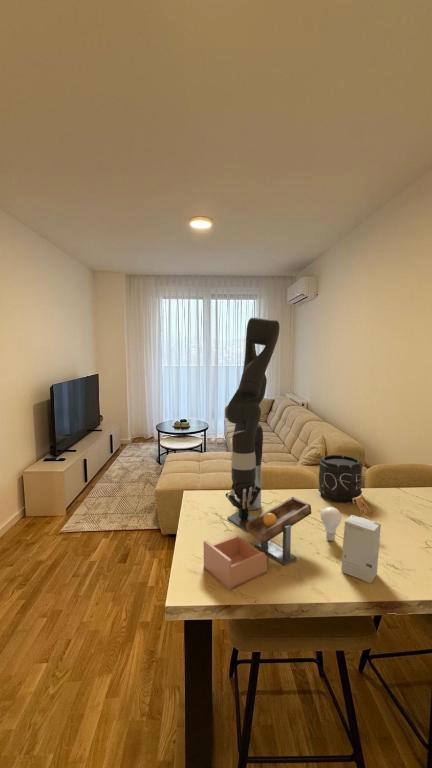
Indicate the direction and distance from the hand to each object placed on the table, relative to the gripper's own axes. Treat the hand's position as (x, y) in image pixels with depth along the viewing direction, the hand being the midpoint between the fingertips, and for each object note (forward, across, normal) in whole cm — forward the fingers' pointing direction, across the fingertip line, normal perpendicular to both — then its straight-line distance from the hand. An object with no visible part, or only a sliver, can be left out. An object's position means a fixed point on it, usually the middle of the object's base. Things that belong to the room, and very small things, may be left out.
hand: (243, 519), depth 114 cm
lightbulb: (+9, -25, +14) cm, 30 cm away
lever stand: (+9, -5, +9) cm, 13 cm away
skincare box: (+9, -17, +30) cm, 35 cm away
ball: (-2, -3, +9) cm, 10 cm away
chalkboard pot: (+9, -59, -7) cm, 60 cm away
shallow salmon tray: (+9, +10, +9) cm, 16 cm away
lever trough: (0, -7, +4) cm, 8 cm away
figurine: (+9, -41, +15) cm, 45 cm away
